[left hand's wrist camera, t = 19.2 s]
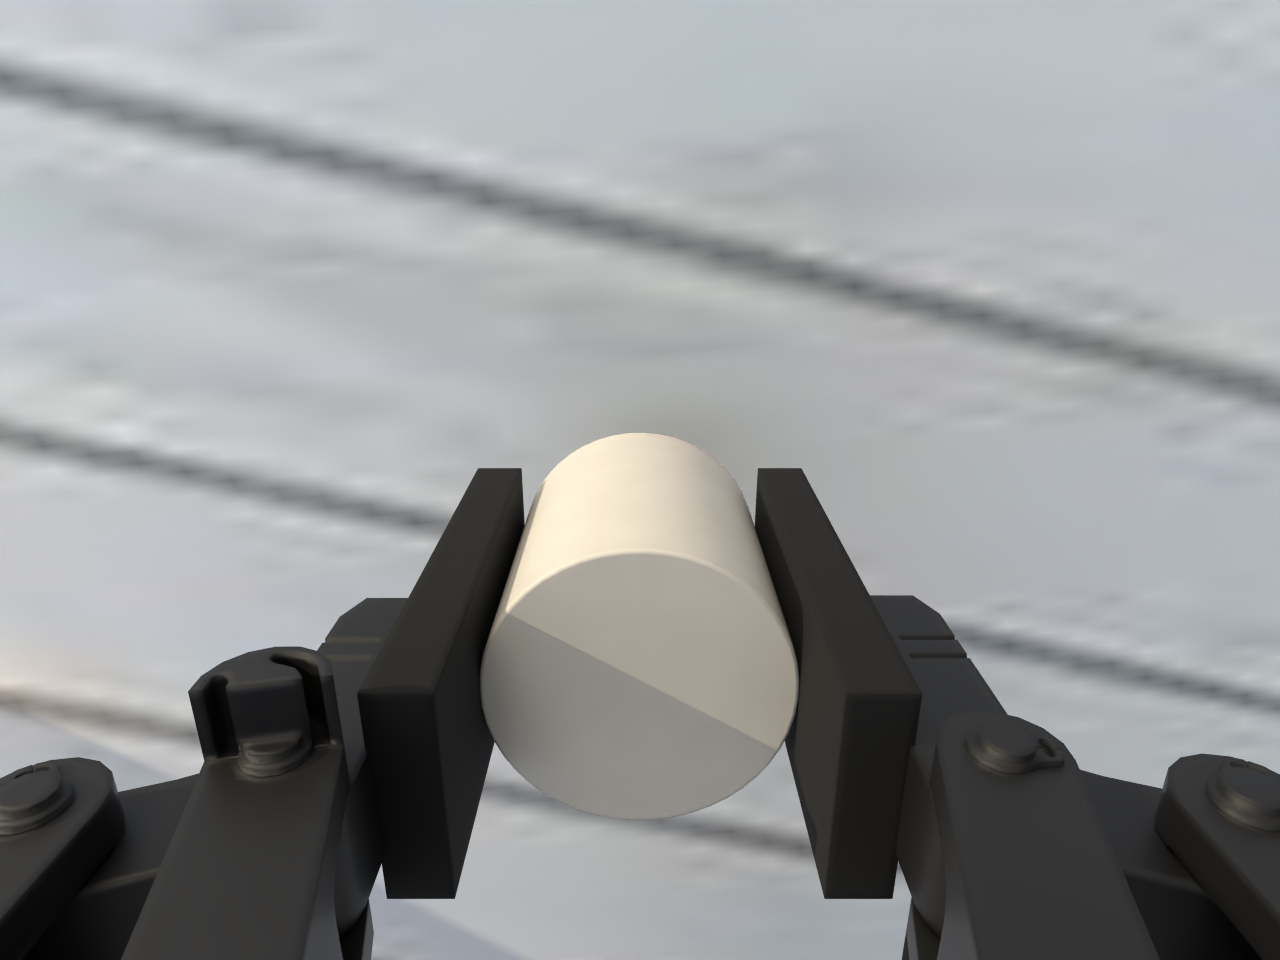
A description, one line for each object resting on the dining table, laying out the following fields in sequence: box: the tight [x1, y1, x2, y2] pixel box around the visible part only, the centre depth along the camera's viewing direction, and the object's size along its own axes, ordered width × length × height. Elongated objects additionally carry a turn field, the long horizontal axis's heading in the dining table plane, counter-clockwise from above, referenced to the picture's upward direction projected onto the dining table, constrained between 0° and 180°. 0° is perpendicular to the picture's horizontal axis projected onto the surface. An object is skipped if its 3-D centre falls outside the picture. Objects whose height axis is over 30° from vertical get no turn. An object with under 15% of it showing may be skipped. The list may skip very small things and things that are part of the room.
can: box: [480, 433, 799, 820], centre depth 13 cm, size 4×4×5 cm
